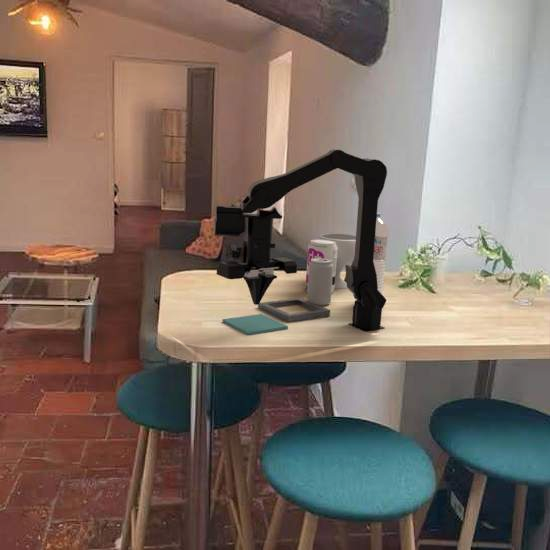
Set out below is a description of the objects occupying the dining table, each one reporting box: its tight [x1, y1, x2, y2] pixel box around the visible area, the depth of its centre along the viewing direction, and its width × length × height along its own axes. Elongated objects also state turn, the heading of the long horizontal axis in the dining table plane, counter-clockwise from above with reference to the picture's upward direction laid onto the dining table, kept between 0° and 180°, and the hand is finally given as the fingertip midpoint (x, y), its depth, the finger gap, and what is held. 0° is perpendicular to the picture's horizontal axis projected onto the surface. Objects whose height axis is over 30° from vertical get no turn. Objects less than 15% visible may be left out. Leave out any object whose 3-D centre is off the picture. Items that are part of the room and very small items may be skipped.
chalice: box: [318, 233, 356, 289], centre depth 188 cm, size 14×14×15 cm
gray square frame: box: [257, 297, 331, 323], centre depth 158 cm, size 13×13×2 cm
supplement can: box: [304, 238, 337, 295], centre depth 177 cm, size 8×8×15 cm
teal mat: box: [222, 313, 289, 336], centre depth 145 cm, size 11×11×1 cm
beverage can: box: [306, 258, 333, 307], centre depth 166 cm, size 6×6×12 cm
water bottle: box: [373, 212, 389, 295], centre depth 166 cm, size 7×7×25 cm
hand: (256, 304), depth 144 cm, fingers closed
